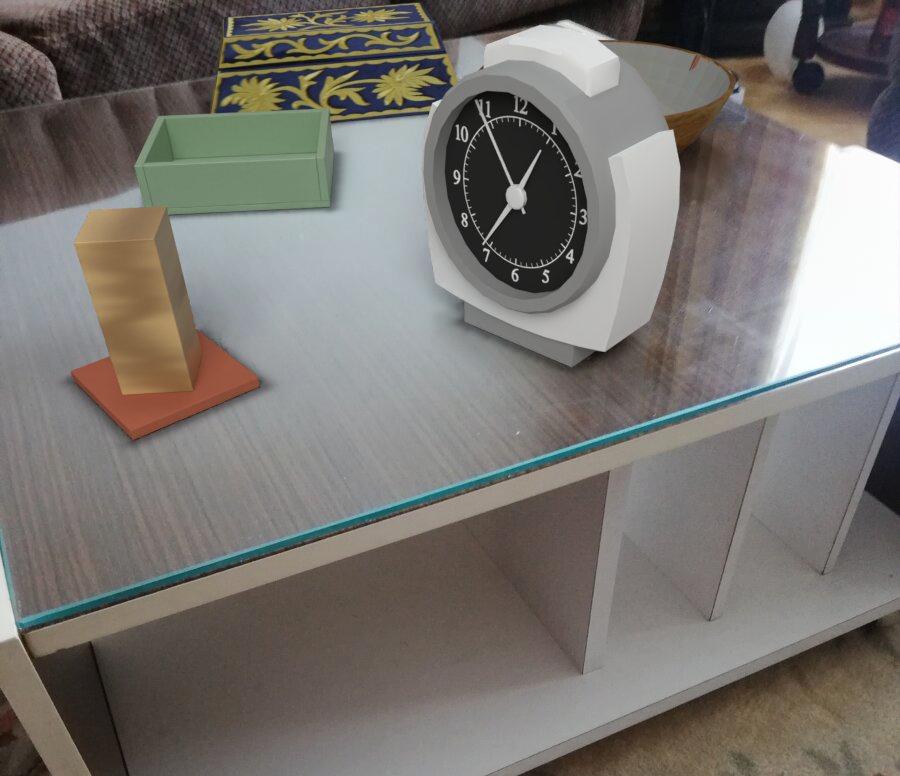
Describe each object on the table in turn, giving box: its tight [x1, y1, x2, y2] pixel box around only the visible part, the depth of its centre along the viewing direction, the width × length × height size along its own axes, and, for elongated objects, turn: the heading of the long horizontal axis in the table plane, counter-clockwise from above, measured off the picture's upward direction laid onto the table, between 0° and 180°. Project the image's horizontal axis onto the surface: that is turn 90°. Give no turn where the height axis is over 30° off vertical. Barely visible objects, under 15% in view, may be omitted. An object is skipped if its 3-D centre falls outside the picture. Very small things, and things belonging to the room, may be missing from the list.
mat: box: [70, 328, 260, 441], centre depth 67 cm, size 10×10×1 cm
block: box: [73, 206, 202, 395], centre depth 63 cm, size 5×5×11 cm
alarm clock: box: [421, 24, 681, 368], centre depth 64 cm, size 18×8×20 cm, turn 48°
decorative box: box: [209, 1, 459, 123], centre depth 105 cm, size 11×30×9 cm, turn 101°
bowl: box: [477, 39, 737, 155], centre depth 92 cm, size 25×25×8 cm
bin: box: [133, 109, 335, 216], centre depth 91 cm, size 18×14×5 cm
